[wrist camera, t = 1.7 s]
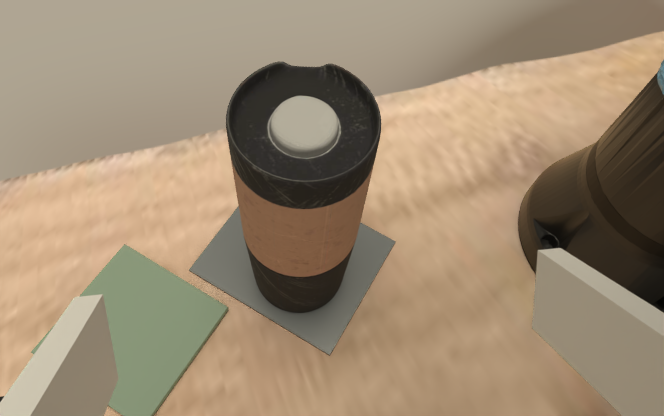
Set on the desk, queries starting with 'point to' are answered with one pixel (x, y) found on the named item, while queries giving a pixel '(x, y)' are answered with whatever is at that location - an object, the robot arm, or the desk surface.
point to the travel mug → (301, 176)
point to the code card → (314, 327)
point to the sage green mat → (150, 328)
